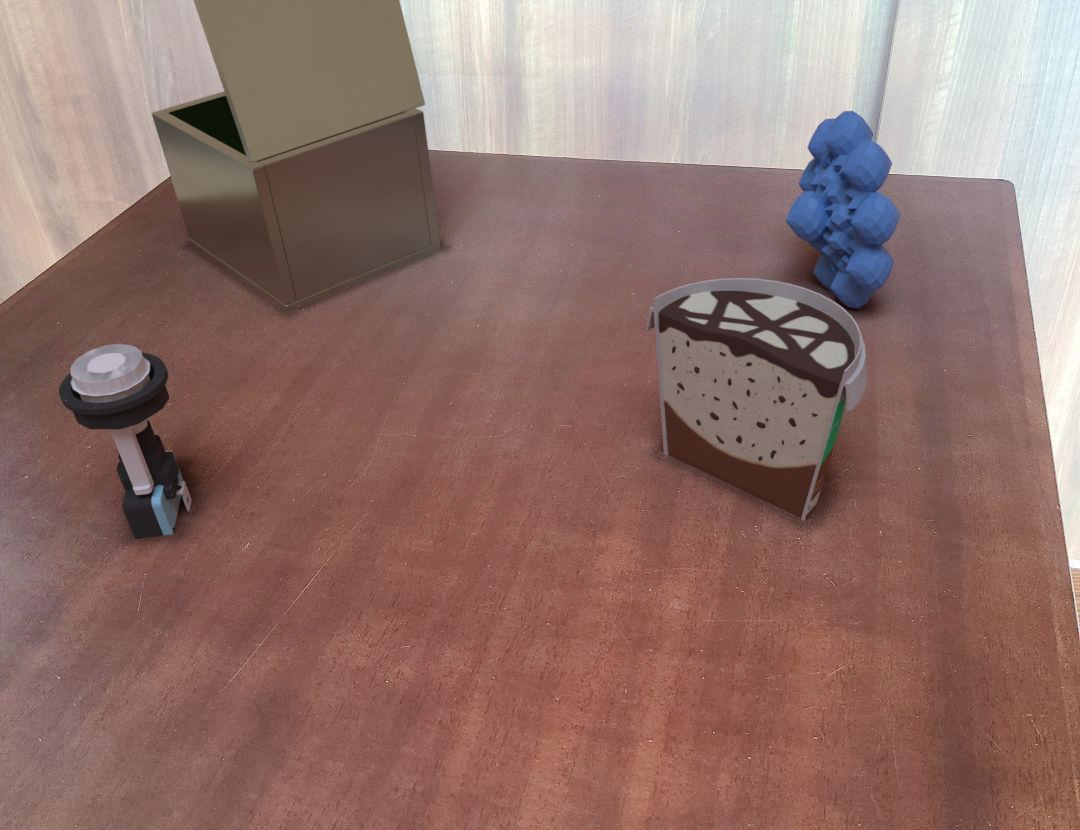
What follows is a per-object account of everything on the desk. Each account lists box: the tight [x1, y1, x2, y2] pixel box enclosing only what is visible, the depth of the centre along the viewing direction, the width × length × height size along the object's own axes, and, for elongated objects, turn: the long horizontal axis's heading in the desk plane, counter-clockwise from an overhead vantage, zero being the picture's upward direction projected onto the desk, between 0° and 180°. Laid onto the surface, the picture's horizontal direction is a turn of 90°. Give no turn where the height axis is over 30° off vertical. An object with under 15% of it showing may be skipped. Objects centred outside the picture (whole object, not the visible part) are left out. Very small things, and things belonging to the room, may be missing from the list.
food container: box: [645, 277, 868, 522], centre depth 56 cm, size 12×6×10 cm, turn 47°
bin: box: [151, 90, 442, 314], centre depth 79 cm, size 16×14×11 cm
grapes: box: [785, 110, 901, 309], centre depth 69 cm, size 12×7×12 cm, turn 12°
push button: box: [58, 343, 193, 540], centre depth 56 cm, size 7×5×10 cm
